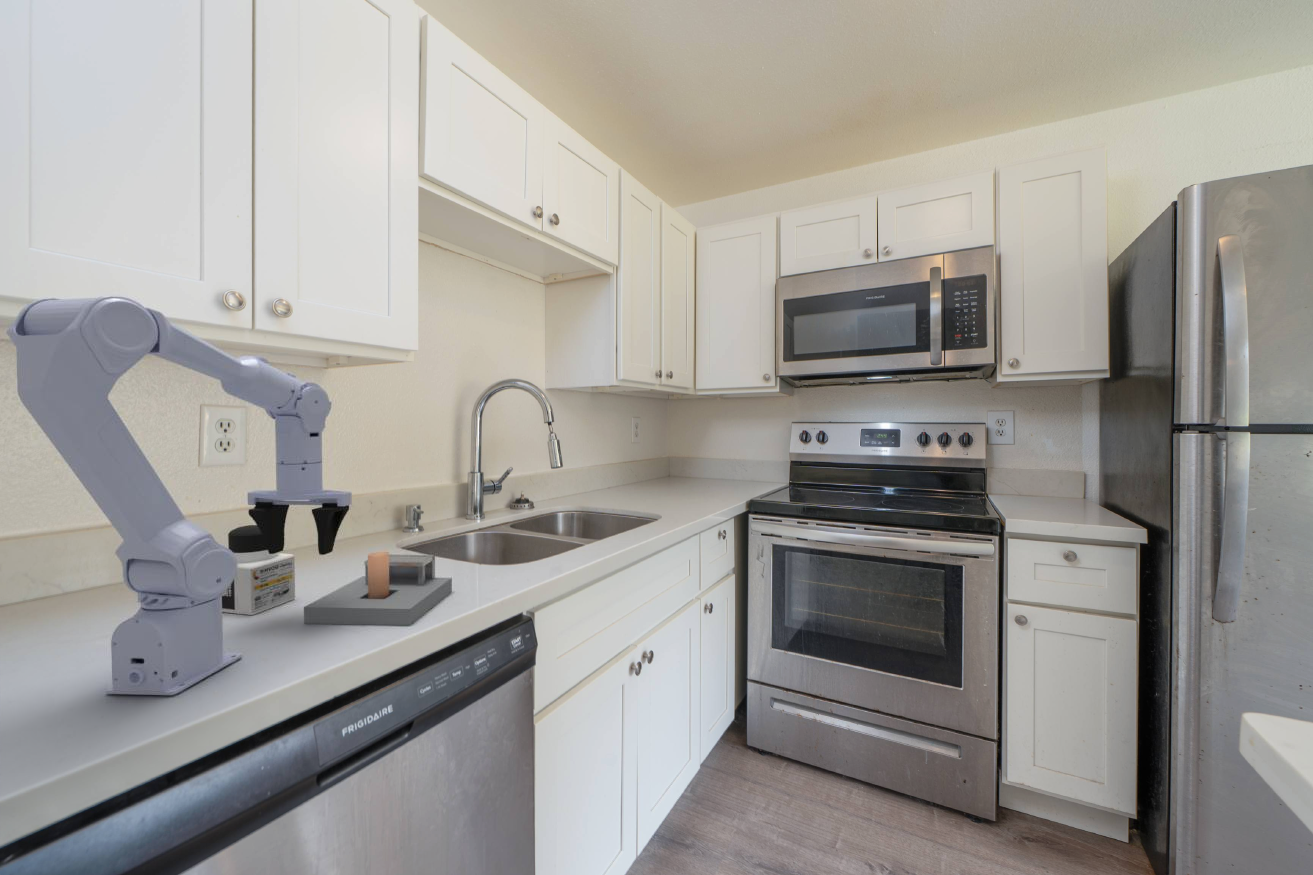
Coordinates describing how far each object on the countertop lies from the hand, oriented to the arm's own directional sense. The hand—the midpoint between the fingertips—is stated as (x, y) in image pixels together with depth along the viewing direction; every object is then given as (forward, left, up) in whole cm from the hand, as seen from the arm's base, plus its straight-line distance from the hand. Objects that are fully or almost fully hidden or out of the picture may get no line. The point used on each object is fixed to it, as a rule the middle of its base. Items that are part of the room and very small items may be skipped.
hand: (301, 552), depth 78 cm
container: (+6, +12, -11) cm, 17 cm away
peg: (+5, -9, -10) cm, 15 cm away
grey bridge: (+12, -9, -8) cm, 17 cm away
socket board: (+7, -9, -10) cm, 15 cm away
